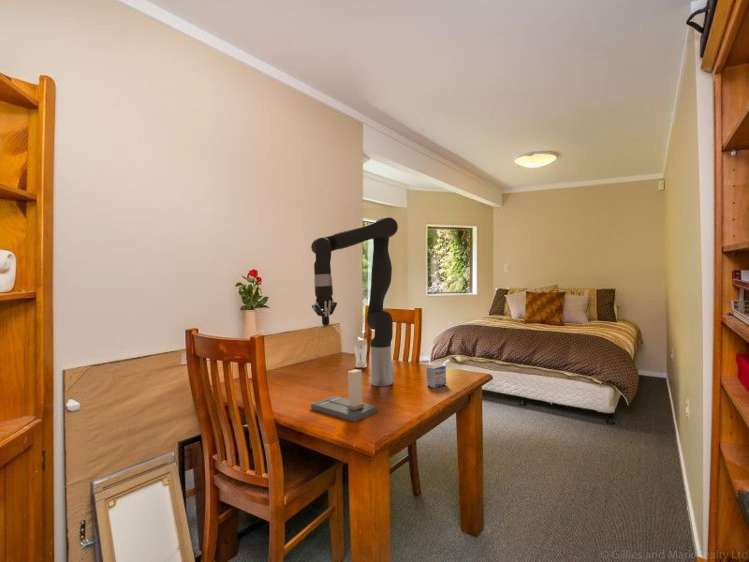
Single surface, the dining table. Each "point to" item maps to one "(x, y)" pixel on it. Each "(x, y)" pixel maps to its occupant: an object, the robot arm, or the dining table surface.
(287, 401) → the dining table surface
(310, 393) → the dining table surface
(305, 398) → the dining table surface
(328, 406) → the fader board
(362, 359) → the beer glass
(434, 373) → the medicine box
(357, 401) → the beige tall block
